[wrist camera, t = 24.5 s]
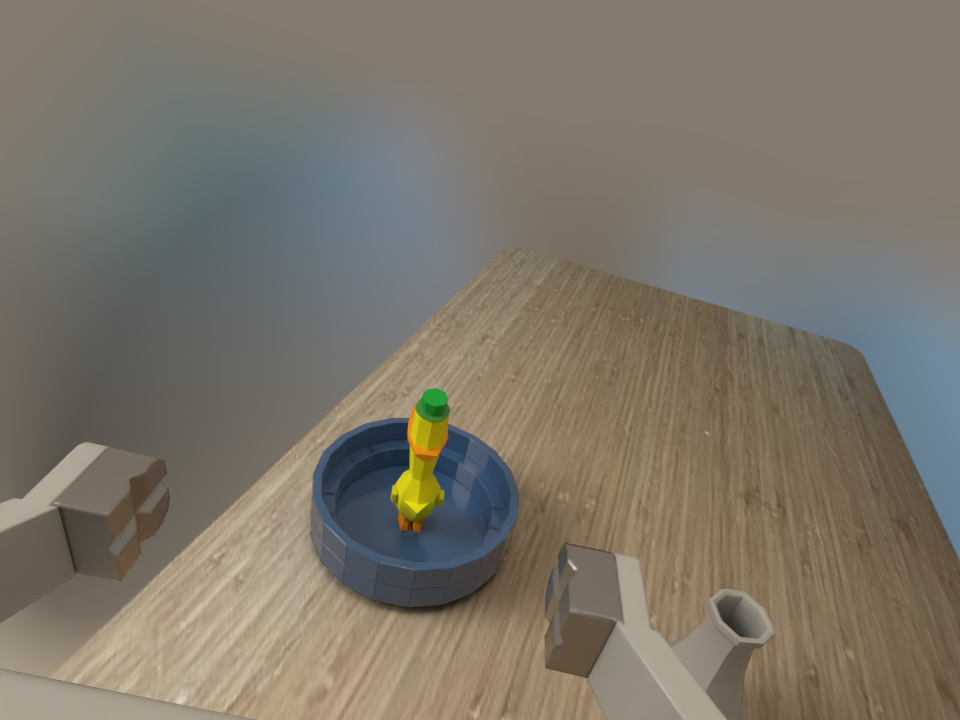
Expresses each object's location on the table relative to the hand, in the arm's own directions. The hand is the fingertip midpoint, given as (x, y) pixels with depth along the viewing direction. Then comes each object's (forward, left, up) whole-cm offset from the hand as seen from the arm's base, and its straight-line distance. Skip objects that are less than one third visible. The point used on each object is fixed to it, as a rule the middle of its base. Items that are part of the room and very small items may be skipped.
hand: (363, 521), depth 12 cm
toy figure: (0, +22, -24) cm, 33 cm away
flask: (+18, +12, -25) cm, 33 cm away
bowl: (0, +22, -25) cm, 33 cm away
